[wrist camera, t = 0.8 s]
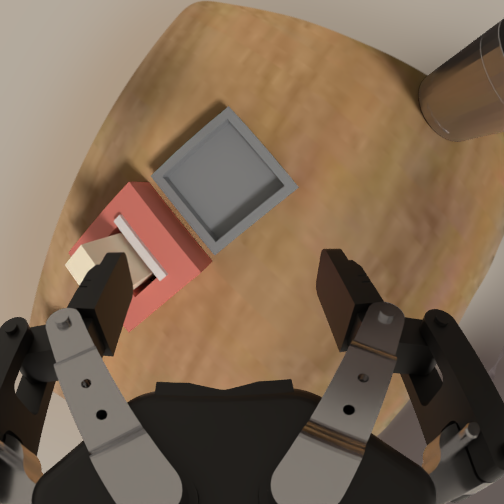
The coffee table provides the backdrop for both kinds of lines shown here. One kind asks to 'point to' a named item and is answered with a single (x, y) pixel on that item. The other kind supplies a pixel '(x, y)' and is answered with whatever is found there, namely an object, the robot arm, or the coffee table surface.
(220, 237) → the tray
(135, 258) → the tall beige block
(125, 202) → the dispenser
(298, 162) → the coffee table surface
